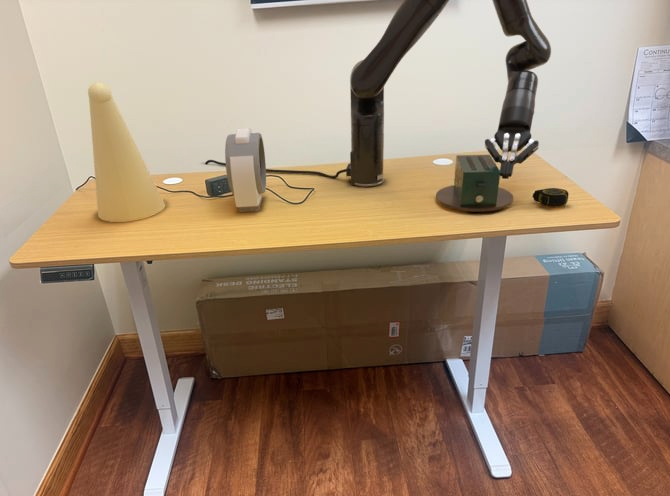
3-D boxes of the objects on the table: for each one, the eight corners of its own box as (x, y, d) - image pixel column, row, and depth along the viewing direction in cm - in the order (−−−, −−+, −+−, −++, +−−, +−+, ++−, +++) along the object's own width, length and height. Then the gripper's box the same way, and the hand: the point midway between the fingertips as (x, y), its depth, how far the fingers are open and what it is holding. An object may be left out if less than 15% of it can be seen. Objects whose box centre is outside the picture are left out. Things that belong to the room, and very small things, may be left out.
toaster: (432, 186, 147) (434, 153, 142) (505, 185, 144) (509, 151, 139) (438, 212, 130) (441, 175, 126) (520, 211, 127) (526, 173, 123)
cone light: (100, 203, 154) (67, 75, 137) (164, 195, 158) (139, 68, 140) (92, 235, 133) (51, 88, 116) (166, 224, 137) (136, 79, 119)
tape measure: (555, 199, 135) (558, 185, 133) (572, 208, 129) (575, 193, 127) (531, 202, 134) (533, 188, 133) (546, 211, 128) (549, 196, 127)
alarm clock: (263, 215, 138) (255, 137, 128) (231, 217, 138) (220, 139, 128) (269, 193, 153) (262, 121, 143) (240, 194, 154) (231, 123, 144)
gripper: (488, 104, 130) (475, 168, 127) (546, 104, 124) (535, 171, 121) (489, 121, 137) (477, 182, 133) (545, 122, 131) (534, 186, 128)
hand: (505, 177), depth 127 cm, fingers closed
